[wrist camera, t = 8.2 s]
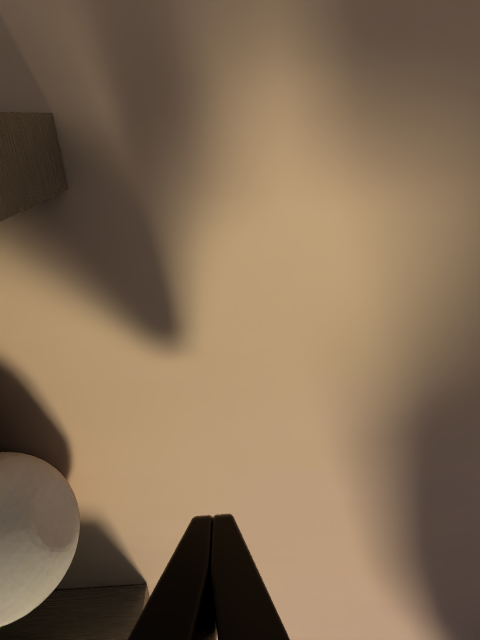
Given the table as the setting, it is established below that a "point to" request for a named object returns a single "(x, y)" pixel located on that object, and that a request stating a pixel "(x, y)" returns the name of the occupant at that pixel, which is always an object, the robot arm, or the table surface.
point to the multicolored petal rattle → (33, 532)
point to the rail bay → (3, 202)
